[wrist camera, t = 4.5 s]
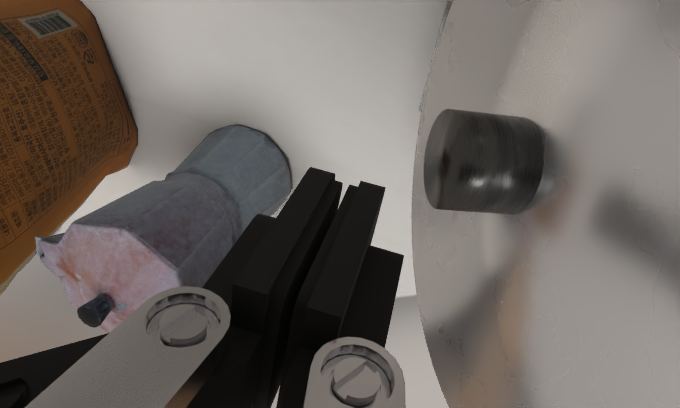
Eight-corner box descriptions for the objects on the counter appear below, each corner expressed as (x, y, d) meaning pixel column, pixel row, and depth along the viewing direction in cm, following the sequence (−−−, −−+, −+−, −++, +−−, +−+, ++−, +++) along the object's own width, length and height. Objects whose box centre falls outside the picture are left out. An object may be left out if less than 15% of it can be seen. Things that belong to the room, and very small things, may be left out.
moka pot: (173, 94, 41) (-31, 217, 25) (343, 149, 40) (250, 317, 24) (169, 186, 47) (-1, 339, 30) (320, 237, 45) (230, 425, 29)
